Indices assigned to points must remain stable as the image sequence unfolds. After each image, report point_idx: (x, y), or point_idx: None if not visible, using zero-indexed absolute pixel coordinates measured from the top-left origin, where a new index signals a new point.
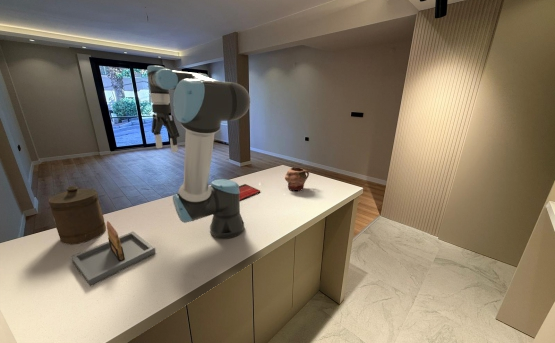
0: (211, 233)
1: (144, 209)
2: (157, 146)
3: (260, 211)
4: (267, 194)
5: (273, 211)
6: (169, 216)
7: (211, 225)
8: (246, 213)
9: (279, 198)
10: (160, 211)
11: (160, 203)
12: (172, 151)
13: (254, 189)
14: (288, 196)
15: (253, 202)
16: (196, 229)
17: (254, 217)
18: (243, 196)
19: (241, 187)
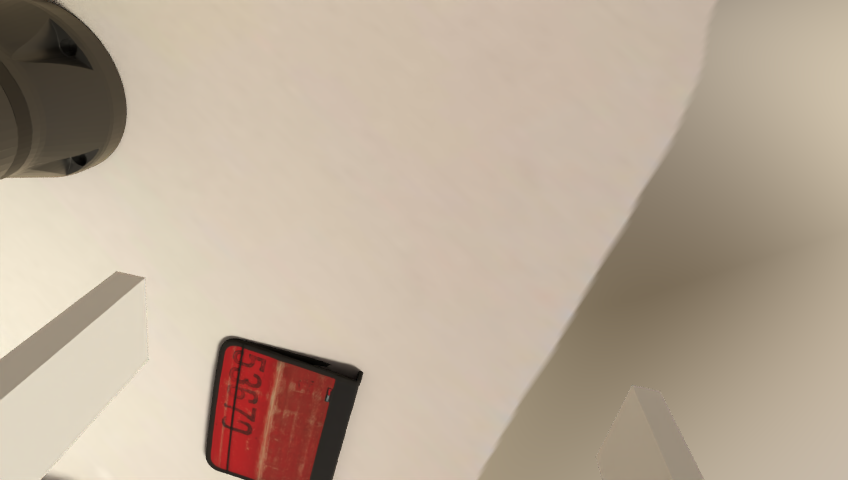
0: (52, 5)
1: (634, 47)
2: (638, 415)
3: (61, 297)
4: (165, 450)
5: (17, 319)
6: (411, 52)
7: (33, 20)
8: (96, 256)
9: (91, 433)
10: (513, 74)
11: (601, 155)
12: (105, 282)
13: (244, 470)
14: (74, 462)
15: (156, 360)
16: (163, 10)
17: (38, 238)
18: (230, 390)
19: (307, 465)
